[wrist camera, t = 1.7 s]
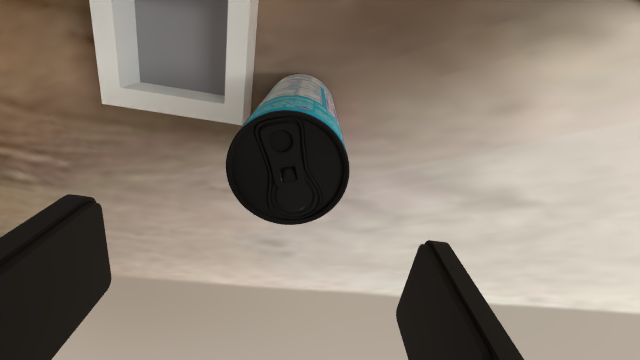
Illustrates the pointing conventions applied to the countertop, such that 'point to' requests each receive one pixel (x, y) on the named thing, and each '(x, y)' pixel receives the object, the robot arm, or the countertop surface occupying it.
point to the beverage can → (290, 154)
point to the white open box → (177, 56)
